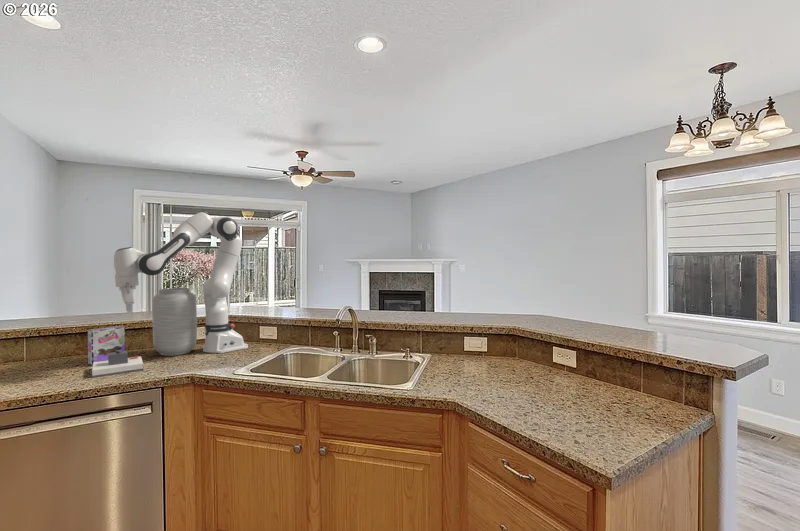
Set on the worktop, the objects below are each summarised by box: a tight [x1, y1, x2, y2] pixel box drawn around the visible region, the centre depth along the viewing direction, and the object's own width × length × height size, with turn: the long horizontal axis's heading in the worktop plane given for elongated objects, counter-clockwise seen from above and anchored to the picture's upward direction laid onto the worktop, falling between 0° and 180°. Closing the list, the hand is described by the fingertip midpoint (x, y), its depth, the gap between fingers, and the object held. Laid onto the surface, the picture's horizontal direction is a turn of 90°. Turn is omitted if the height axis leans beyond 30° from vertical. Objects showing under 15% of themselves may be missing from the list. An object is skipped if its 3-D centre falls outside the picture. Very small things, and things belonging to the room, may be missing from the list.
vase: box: [151, 287, 198, 357], centre depth 209 cm, size 20×20×34 cm
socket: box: [91, 355, 144, 379], centre depth 178 cm, size 18×16×4 cm
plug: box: [108, 350, 129, 365], centre depth 178 cm, size 7×6×7 cm
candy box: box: [87, 325, 127, 367], centre depth 191 cm, size 14×6×16 cm, turn 143°
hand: (129, 311), depth 185 cm, fingers open, 8 cm apart
